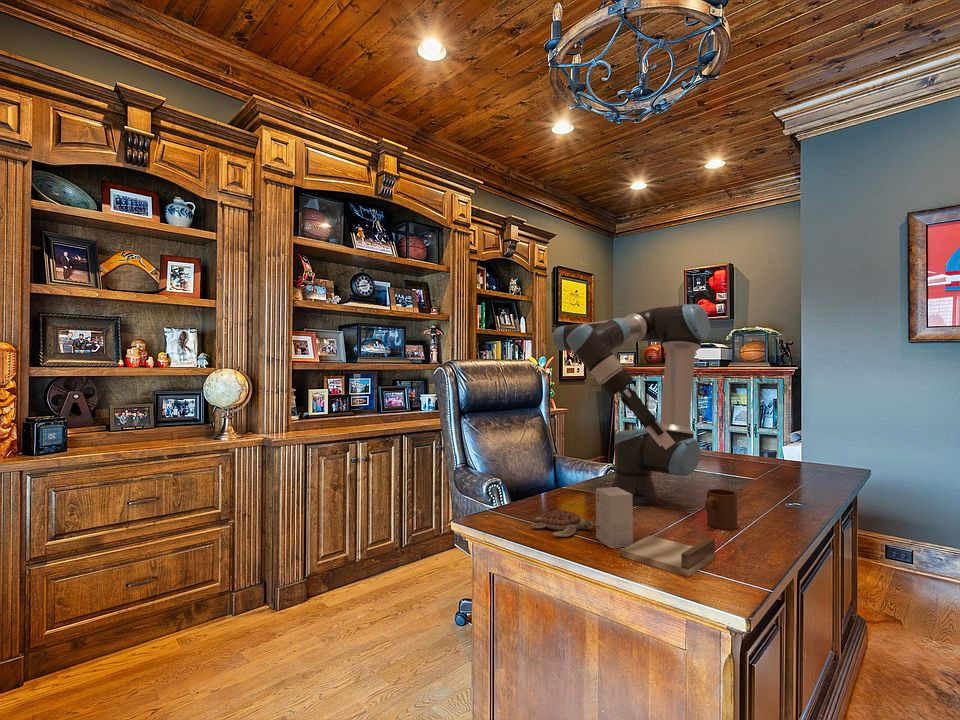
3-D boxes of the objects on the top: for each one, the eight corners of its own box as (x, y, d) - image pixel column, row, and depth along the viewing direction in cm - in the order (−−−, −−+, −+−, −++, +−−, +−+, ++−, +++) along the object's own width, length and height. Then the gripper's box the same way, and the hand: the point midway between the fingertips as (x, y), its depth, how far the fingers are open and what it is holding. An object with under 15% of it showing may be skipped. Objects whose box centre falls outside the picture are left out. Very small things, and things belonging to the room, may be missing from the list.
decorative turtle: (591, 543, 126) (591, 524, 126) (526, 537, 131) (526, 518, 131) (595, 521, 144) (595, 504, 144) (538, 517, 149) (538, 500, 149)
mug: (721, 536, 130) (721, 500, 130) (693, 528, 136) (693, 494, 136) (742, 526, 137) (742, 492, 137) (715, 520, 143) (714, 487, 143)
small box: (633, 547, 123) (633, 494, 123) (610, 549, 121) (609, 495, 121) (617, 536, 131) (617, 486, 131) (595, 538, 129) (594, 487, 129)
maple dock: (620, 556, 117) (620, 537, 117) (649, 541, 126) (649, 523, 126) (688, 576, 105) (688, 555, 105) (714, 558, 115) (714, 539, 115)
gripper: (601, 388, 140) (650, 450, 135) (599, 382, 116) (659, 457, 111) (623, 372, 139) (673, 434, 134) (625, 362, 115) (687, 437, 110)
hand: (667, 444), depth 123 cm, fingers open, 13 cm apart
